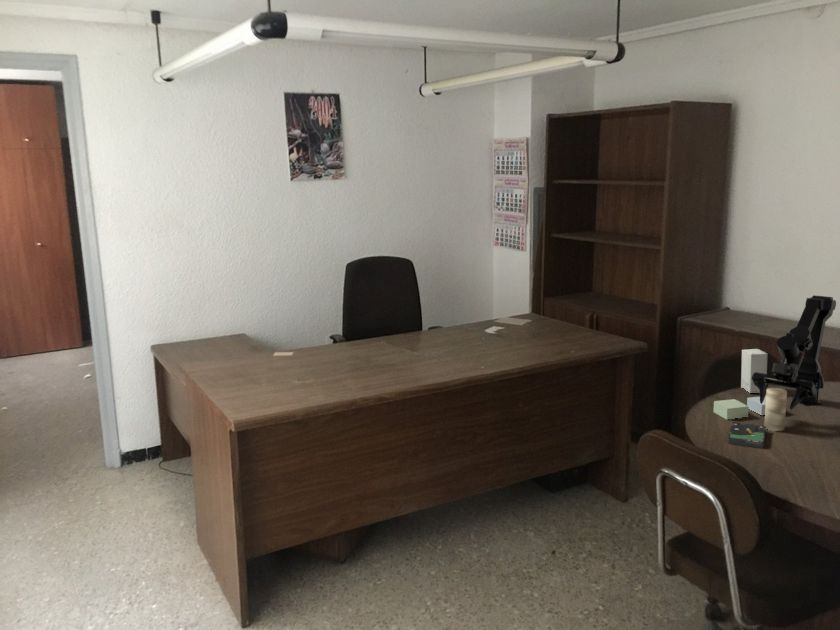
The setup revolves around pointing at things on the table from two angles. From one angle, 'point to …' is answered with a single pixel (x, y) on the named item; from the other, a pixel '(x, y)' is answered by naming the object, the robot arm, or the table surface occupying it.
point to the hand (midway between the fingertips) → (775, 405)
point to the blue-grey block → (756, 405)
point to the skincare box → (752, 368)
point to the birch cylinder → (775, 409)
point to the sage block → (730, 409)
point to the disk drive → (747, 435)
